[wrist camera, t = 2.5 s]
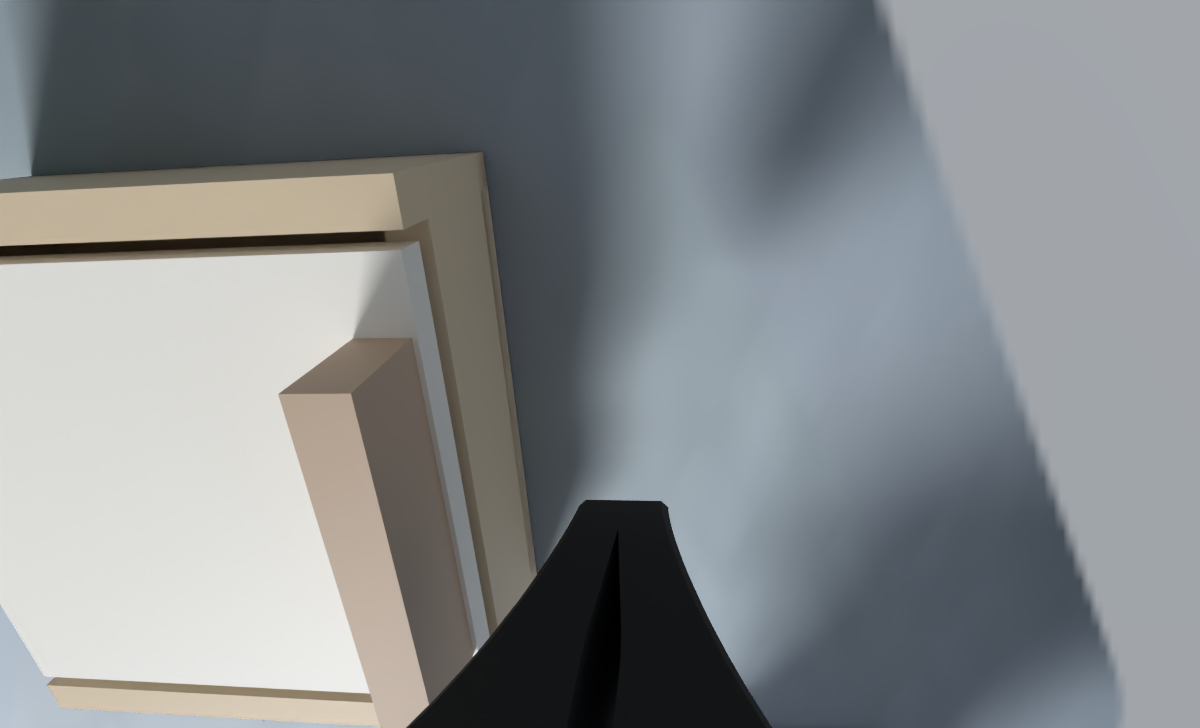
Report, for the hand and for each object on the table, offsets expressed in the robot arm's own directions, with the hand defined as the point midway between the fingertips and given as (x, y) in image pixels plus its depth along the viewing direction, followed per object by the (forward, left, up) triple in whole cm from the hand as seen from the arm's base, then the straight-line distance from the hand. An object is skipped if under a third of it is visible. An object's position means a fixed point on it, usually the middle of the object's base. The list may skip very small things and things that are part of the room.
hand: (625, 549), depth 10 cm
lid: (0, +9, -1) cm, 9 cm away
